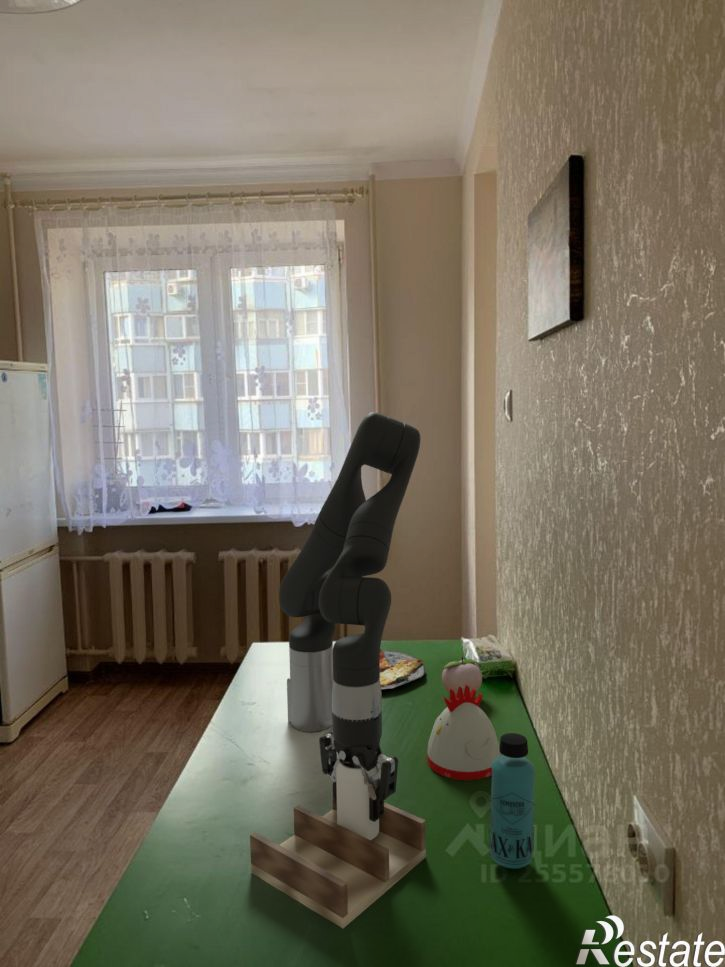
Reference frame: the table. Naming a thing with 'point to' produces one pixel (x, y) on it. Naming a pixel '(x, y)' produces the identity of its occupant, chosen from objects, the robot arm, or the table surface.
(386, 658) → the food plate
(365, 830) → the can
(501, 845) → the beverage bottle
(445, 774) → the kitchen timer
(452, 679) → the decorative fruit
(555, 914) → the table surface
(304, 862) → the rack
